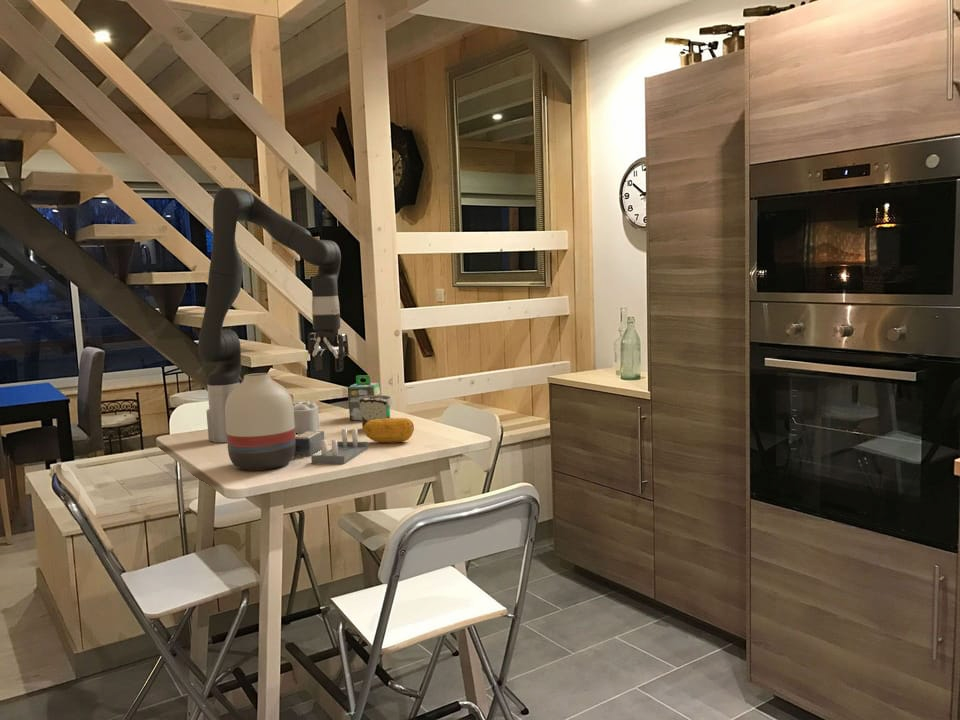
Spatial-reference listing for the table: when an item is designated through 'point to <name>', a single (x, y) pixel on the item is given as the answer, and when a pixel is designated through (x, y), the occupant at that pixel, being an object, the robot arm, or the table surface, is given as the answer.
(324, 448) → the grey pegged block
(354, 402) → the chalk box
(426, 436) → the table surface
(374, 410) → the food container
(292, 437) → the vase
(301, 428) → the lumpy-topped squat cylinder
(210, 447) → the table surface
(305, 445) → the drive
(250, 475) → the table surface
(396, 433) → the potato
